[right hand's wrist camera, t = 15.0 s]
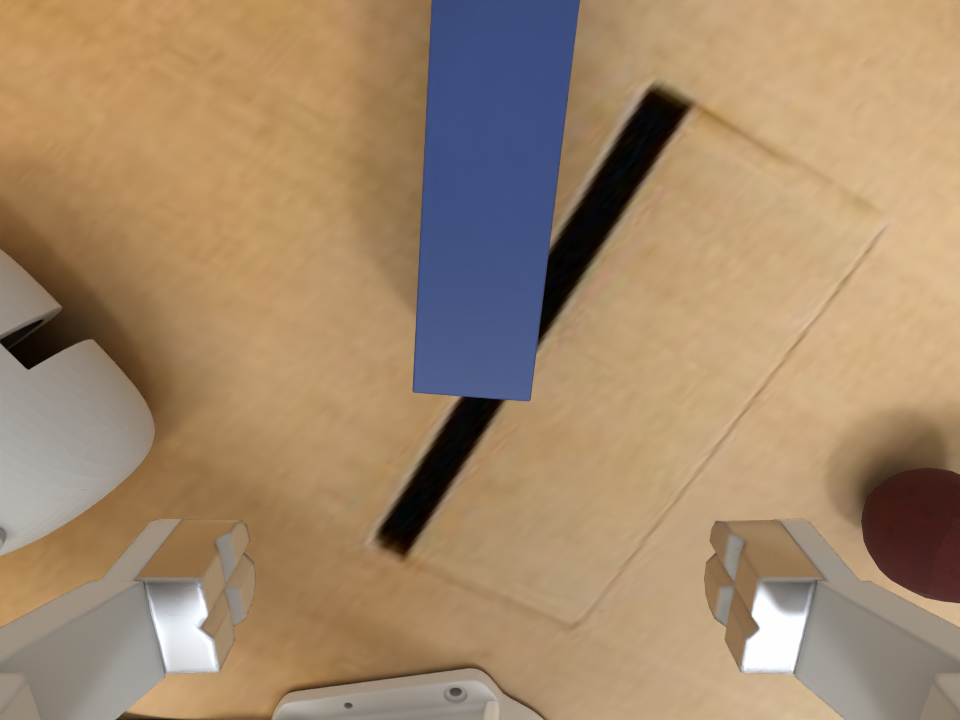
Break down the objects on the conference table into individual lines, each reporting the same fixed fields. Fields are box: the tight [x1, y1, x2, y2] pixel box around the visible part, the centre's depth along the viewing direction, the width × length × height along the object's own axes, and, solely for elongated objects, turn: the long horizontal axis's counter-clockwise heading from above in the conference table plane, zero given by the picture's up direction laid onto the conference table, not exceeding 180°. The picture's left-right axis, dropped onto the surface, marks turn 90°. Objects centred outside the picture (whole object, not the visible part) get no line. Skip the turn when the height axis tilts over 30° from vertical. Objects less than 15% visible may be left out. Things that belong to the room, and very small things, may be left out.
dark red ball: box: [861, 468, 960, 603], centre depth 36 cm, size 7×8×7 cm
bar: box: [413, 0, 580, 401], centre depth 27 cm, size 24×5×9 cm, turn 175°
